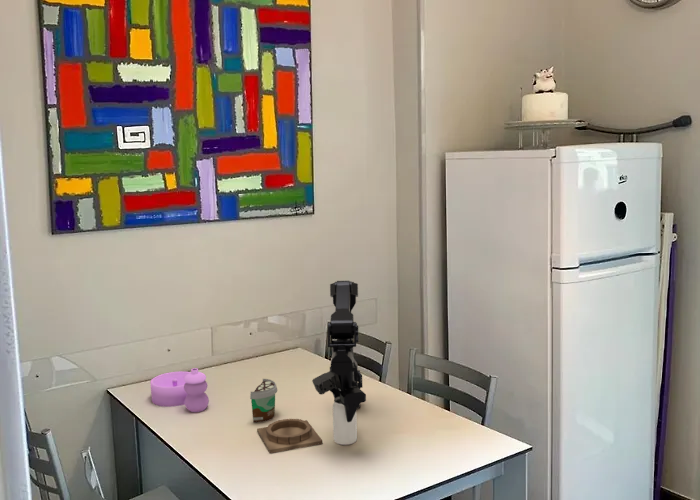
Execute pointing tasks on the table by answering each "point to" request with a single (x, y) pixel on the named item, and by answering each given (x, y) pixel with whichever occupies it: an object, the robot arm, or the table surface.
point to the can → (343, 425)
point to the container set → (180, 390)
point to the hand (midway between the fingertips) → (344, 416)
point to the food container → (263, 401)
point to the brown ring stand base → (288, 435)
